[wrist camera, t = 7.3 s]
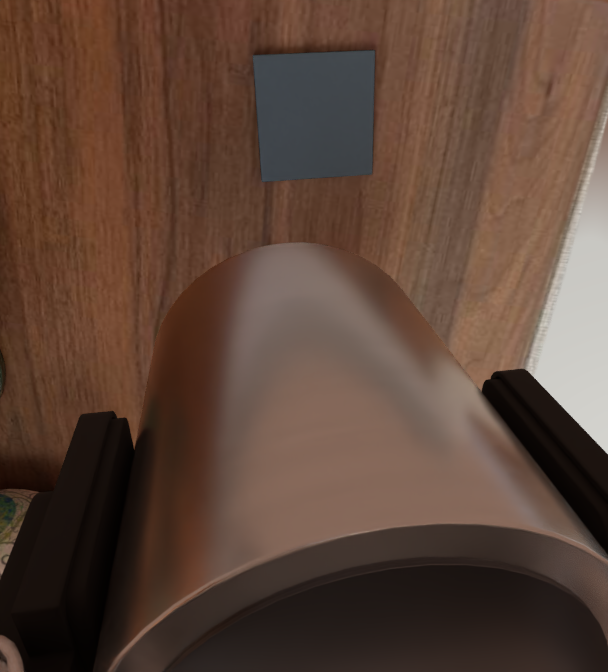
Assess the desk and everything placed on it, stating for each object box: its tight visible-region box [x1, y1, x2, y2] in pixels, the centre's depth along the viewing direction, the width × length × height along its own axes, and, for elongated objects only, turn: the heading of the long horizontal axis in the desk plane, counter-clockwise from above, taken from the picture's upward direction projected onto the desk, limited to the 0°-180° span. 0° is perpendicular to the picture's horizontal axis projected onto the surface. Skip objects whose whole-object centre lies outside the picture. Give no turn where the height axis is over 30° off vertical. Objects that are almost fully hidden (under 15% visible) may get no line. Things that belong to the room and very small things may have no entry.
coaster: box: [253, 50, 375, 182], centre depth 36 cm, size 8×8×1 cm
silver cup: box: [93, 243, 608, 672], centre depth 10 cm, size 7×7×8 cm
